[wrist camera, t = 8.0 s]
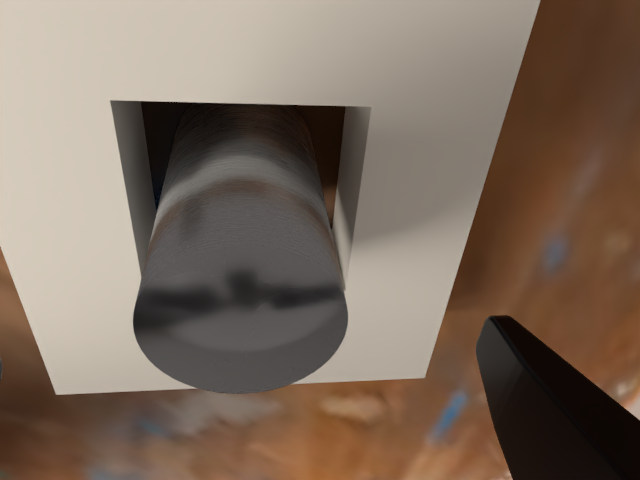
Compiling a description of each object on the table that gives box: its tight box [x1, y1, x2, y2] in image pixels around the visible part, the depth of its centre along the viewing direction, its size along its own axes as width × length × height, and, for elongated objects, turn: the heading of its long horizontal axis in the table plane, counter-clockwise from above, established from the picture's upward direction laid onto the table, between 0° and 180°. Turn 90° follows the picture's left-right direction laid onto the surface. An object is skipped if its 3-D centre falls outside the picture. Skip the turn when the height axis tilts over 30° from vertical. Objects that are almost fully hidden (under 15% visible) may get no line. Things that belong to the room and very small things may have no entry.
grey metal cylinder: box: [133, 102, 348, 394], centre depth 13 cm, size 4×4×7 cm
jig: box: [0, 0, 540, 395], centre depth 14 cm, size 14×12×3 cm
